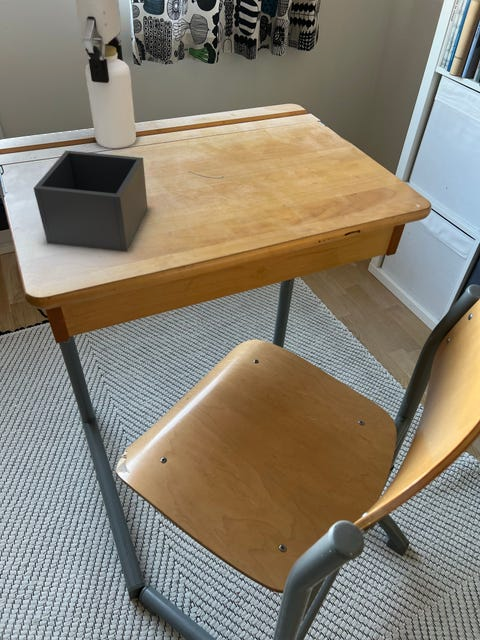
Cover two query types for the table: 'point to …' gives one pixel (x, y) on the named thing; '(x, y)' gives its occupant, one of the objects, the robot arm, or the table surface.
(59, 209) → the waste bin
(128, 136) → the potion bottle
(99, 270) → the table surface
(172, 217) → the table surface
